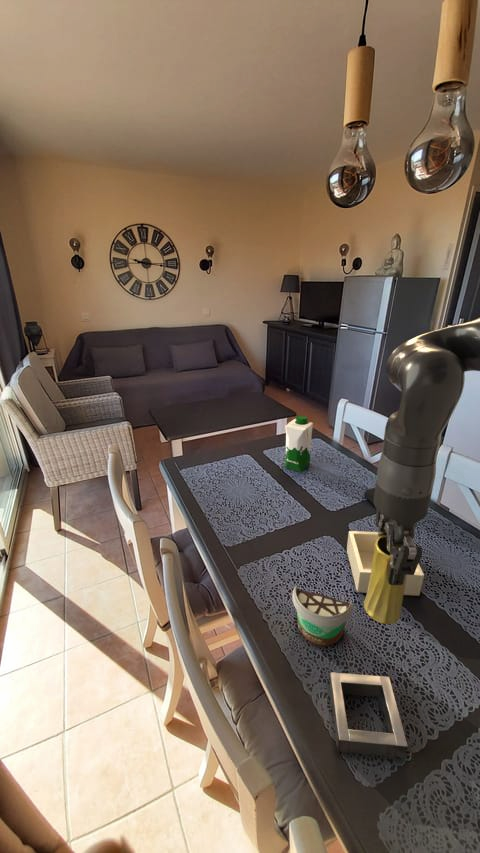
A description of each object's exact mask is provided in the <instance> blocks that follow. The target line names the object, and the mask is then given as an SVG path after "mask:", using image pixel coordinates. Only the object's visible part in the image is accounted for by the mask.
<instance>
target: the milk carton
mask: <svg viewBox="0 0 480 853" xmlns="http://www.w3.org/2000/svg"><path fill="white" fill-rule="evenodd" d="M295 417H296V418H293V420H291V421H289V422H288V423H287V424H286V425H284V429H285V458H284V459H285V460H284V462H285V463H284V468H286V469H289V470H293V471H296V472H299V473H303V472H304V470H306V469H307V468H308V466H309V465H310V464H311V452H312V451H311V450H312V438H313V437H312V434H313V427H314V422H311V421H308V416H306V415H303V414H299V415H296V416H295Z"/></svg>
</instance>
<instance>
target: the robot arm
mask: <svg viewBox="0 0 480 853" xmlns="http://www.w3.org/2000/svg"><path fill="white" fill-rule="evenodd" d="M385 372H386V375H387V379H388V380H389V382H390V383H391V384H392V385H393V386H394V387H395V388H396V389H397V390H399V391H400V392H401V398H400V403H399V408H398V410H397V411H394V412H393V413H392V414H391V415H389V417H388V419H387V421H386V423H385V427H384V432H383V441H382V450H381V454H380V457H379V461H378V465H377V471H376V479H375V486H374V488H375V494H374V504H373V505H374V507H375V509H376V510H375V511H376V512H375V527H376V528H378V530H377V532H378V536H379V537H381V536H384V535H387V550H388V551H389V552H390V567H389V572H388V578H387V580H388V583H389V584H390V585H402V584H403V582H404V577H405V575H414V573H415V571H416V568H417V566H418V563H419V564H420V561H421V558H422V555H423V548H422V546H421V545H415V544H414V537H415V535H416V526H415V525H416V524H417V523H418V522H420V521H422V520H423V519H425V518H426V517H427V516H428V513H429V508H430V504H431V498H432V494H433V490H434V484H435V479H436V474H437V460H438V455H439V451H440V446H441V441H442V440H441V439H442V434H443V432H444V430H445V428H446V426H447V425H448V424H449V422H450V419H451V418H452V416H453V414H454V411H455V410H456V408H457V406H458V403H459V402H460V400H461V398H462V394H463V391H464V388H465V380H466V375H465V372H480V317H478V318H476V319H473V320H470V321H467V322H463V323H459V324H454V325H450V326H447V327H444V328H440V329H437V330H432V331H429V332H425V333H423V334H420V335H417V336H414V337H412V338H410V339H408V340H406V341H404V342H403V343H401V344H400V345H398V346H397V347H396V348H395V349H394V350H393V351H392V352H391V354H390V355H389V357H388V359H387V361H386V366H385ZM393 543H394V544H404V546H401V547H398V546H393ZM397 554H399V555H398V558H397V560H396V555H397Z"/></svg>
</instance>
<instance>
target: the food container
mask: <svg viewBox="0 0 480 853" xmlns="http://www.w3.org/2000/svg"><path fill="white" fill-rule="evenodd" d="M291 597H292V598H291V600H292V603H293V606H294V608H295V609H296V610H295V611H296V617H297V626H298V629H299V632H300V634H301V635H302V636H303V637H304V638H305V639H306V640H307V641H308V642H310V643H312V644H313V645H316V646H321V647H328V646H332V645H335V644H336V643H337V642H339V640H340V639H341V638H342V635H343V634H344V630H345V627H346V623H347V621H348V620H349V619H350V618H351V617H352V615H353V612H354V603H353V601H352V599H351V600H350V602H347V601H341V600H338V599H335V598H334V597H330V596H328V595H325V594H322V593H315V592H311V591H307V590H303V589H299V588H297V585H295V586H294V587H293V590H292V596H291Z"/></svg>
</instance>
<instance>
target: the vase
mask: <svg viewBox="0 0 480 853" xmlns="http://www.w3.org/2000/svg"><path fill="white" fill-rule="evenodd" d="M393 546H398V547H401V546H404V544H394V543H393ZM398 555H399V554H397V555H396V560H397V558H398ZM389 567H390V552H389V551H388V550H387V535H384V536H381V537H379V538H378V539H377V540H376V543H375V548H374V556H373V563H372V570H371V575H370V580H369V585H368V591H367V593H366V596H365V598H364V601H363V608H364V610H365V613H366V614H367V615H368V616H369V617H370V618H371V619H372V620H374V621H375V622H377V623H380V624H382V625H393V624H396V623H397V622H399V620H400V619H401V617H402V607H403V600H404V595H403V594H404V588H405V582H406V576H407V575H405V577H404V582H403V584H402V585H390V584H389V583H388V580H387V578H388V572H389Z"/></svg>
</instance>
